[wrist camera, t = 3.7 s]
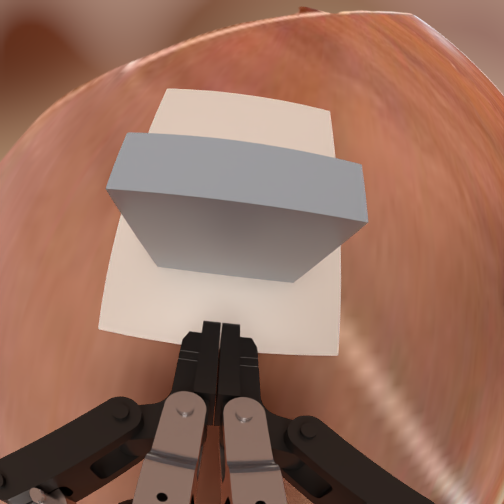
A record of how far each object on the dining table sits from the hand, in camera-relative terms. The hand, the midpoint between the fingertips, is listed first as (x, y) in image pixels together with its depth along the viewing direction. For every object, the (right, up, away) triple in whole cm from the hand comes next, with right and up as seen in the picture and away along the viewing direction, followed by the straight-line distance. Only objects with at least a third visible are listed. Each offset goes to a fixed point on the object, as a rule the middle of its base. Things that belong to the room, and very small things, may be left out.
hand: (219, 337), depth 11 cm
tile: (0, +3, +7) cm, 8 cm away
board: (0, +8, +9) cm, 12 cm away
